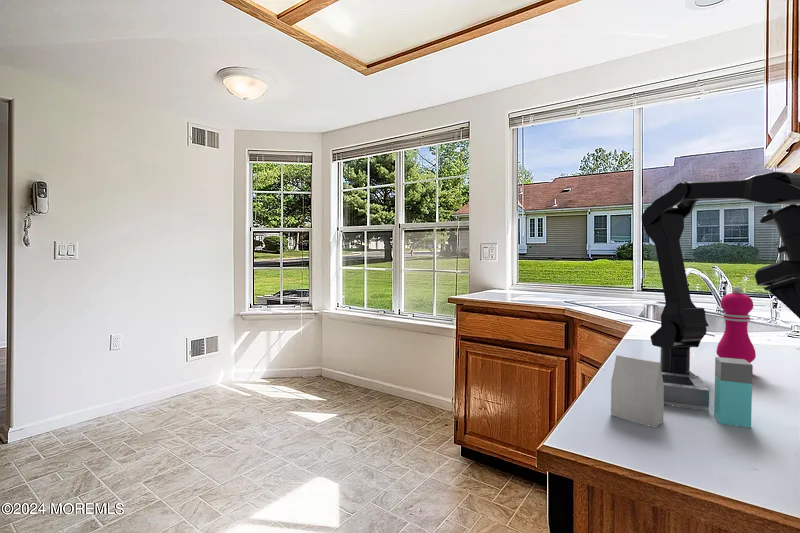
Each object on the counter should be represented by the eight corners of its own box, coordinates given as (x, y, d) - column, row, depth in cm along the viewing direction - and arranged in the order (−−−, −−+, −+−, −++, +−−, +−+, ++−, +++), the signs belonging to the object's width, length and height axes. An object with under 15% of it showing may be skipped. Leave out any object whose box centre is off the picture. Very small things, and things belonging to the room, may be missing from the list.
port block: (639, 387, 87) (639, 369, 87) (697, 394, 83) (698, 375, 83) (643, 402, 78) (643, 382, 78) (709, 410, 74) (709, 390, 74)
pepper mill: (747, 369, 102) (748, 285, 101) (761, 377, 95) (763, 288, 94) (711, 366, 104) (712, 285, 104) (722, 374, 97) (724, 287, 97)
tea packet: (654, 427, 67) (655, 364, 67) (610, 415, 72) (611, 356, 72) (663, 421, 69) (664, 361, 69) (620, 410, 75) (621, 353, 74)
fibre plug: (714, 415, 72) (715, 356, 72) (743, 419, 70) (744, 359, 70) (719, 423, 69) (721, 362, 68) (751, 428, 67) (752, 364, 67)
